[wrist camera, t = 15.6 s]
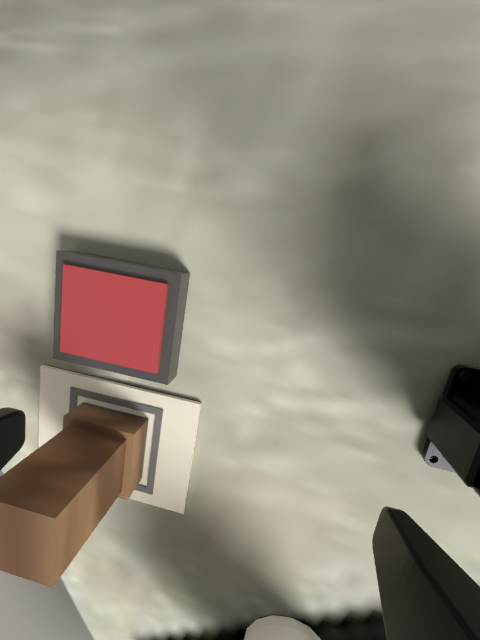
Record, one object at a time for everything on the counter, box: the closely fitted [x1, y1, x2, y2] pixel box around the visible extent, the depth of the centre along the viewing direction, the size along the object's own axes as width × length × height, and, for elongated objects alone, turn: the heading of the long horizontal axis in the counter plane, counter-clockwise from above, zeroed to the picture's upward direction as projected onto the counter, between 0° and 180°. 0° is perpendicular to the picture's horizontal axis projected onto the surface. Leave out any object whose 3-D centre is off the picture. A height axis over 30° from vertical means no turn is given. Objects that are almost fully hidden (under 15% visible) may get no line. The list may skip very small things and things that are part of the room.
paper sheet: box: [38, 365, 201, 514], centre depth 22 cm, size 12×9×1 cm
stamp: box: [0, 402, 149, 587], centre depth 18 cm, size 5×5×8 cm
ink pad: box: [53, 251, 190, 385], centre depth 19 cm, size 8×7×2 cm
